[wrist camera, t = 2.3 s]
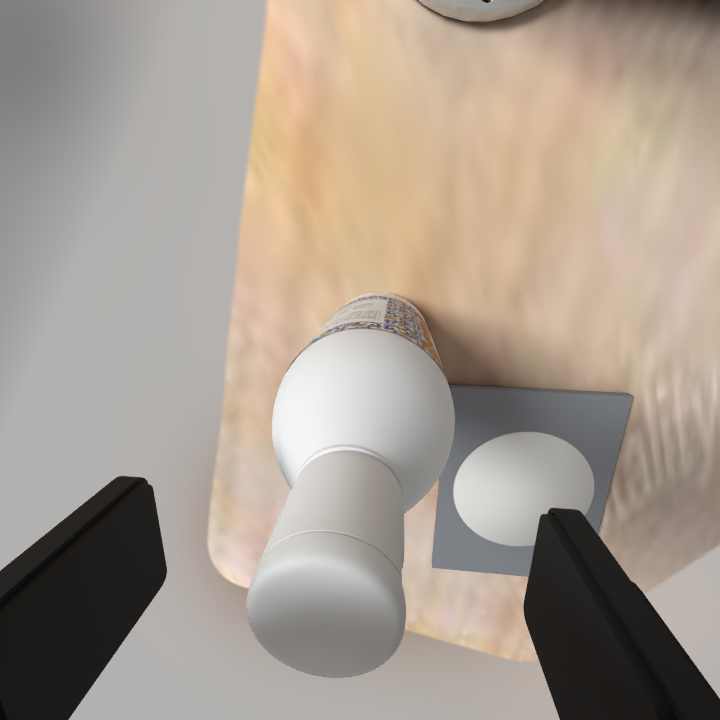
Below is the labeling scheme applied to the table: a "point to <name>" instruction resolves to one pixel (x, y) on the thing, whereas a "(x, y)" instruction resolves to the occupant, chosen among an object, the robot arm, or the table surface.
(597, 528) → the rubber mat
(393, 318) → the bath foam
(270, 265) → the table surface
